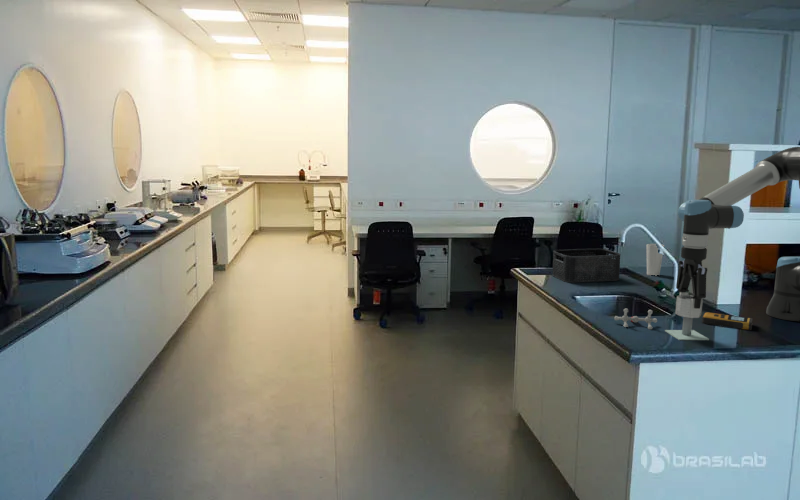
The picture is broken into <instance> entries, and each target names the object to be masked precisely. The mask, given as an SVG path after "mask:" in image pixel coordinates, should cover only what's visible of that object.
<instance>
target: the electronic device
mask: <svg viewBox="0 0 800 500" xmlns="http://www.w3.org/2000/svg"><path fill="white" fill-rule="evenodd" d="M753 320H754V318H752V317H744V316H738V315H731V314H730V315H729V314H725V313H724V314H722V313H715V312H704V313H703V315H702V317H701V323H702V324H705V325H712V326H718V327H725V328H726V327H727V328H732V329H739V330H740V329H741V330H747V331H752V328H753Z"/></svg>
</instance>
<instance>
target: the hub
mask: <svg viewBox="0 0 800 500" xmlns="http://www.w3.org/2000/svg"><path fill="white" fill-rule="evenodd" d="M691 297H693V294H688V295H680V294H679V295H676V300H675V301H676V303H675V312H674V313H675V314H676V315H677V316H679V317H682V318H683V317H688V318H691V317H690V311H691V300H692V298H691ZM703 300H704V298H702V299H701V305H700V315H699V318H700V317H701V316H702V311H703Z"/></svg>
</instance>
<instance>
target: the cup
mask: <svg viewBox="0 0 800 500" xmlns="http://www.w3.org/2000/svg"><path fill="white" fill-rule="evenodd" d="M656 244H657V243H647V244H646V275H647V276H651V275H655V276H654V277H658V276H657V275H659V276H660V273H661V269H662V262H663V257H664V256H663V255H664V254H663V255H662V254H659V253H658V248H657V246H656ZM661 245H662V246H663V247H664V248H665V244H661Z"/></svg>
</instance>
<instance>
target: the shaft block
mask: <svg viewBox="0 0 800 500" xmlns="http://www.w3.org/2000/svg"><path fill="white" fill-rule="evenodd" d="M693 321H694V318H688V317H682V328H681V329H664V332H666V333H667V334H668V335H670V336H672V337H673V338H675V339H677V340H678V341H710V338H708V337H707V336H705V335H703V334H701V333H700V332H698V331H696V330H695V329H692V328H693Z"/></svg>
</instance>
